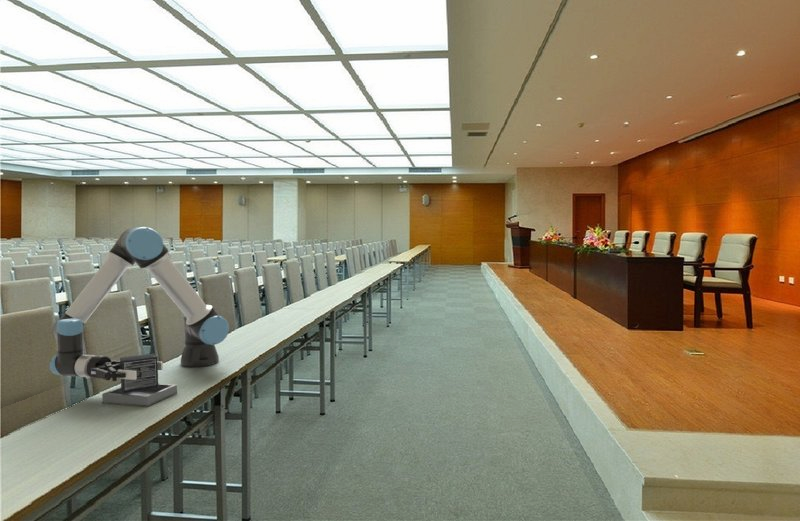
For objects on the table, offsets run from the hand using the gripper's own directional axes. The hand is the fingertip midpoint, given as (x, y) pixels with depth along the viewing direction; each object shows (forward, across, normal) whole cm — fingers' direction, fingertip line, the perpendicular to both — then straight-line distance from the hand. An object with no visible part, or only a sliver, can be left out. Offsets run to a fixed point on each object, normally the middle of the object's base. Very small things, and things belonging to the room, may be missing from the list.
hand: (149, 370), depth 167 cm
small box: (-4, 0, -6) cm, 7 cm away
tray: (-4, 0, -10) cm, 10 cm away
